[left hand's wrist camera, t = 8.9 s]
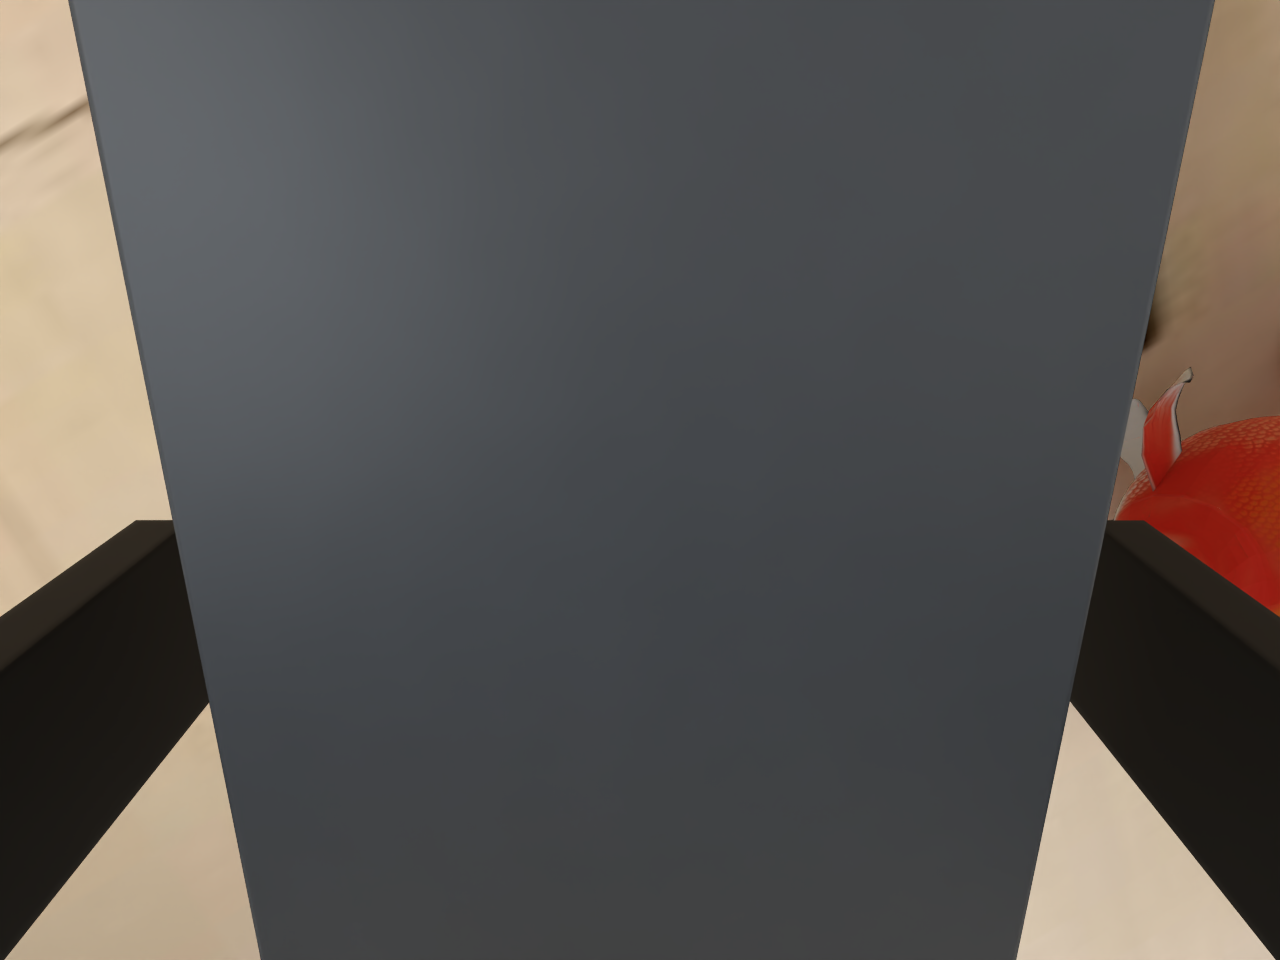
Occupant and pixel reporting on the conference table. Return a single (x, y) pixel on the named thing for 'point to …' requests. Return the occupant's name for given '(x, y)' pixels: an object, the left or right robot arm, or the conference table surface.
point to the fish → (1209, 491)
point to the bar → (640, 447)
